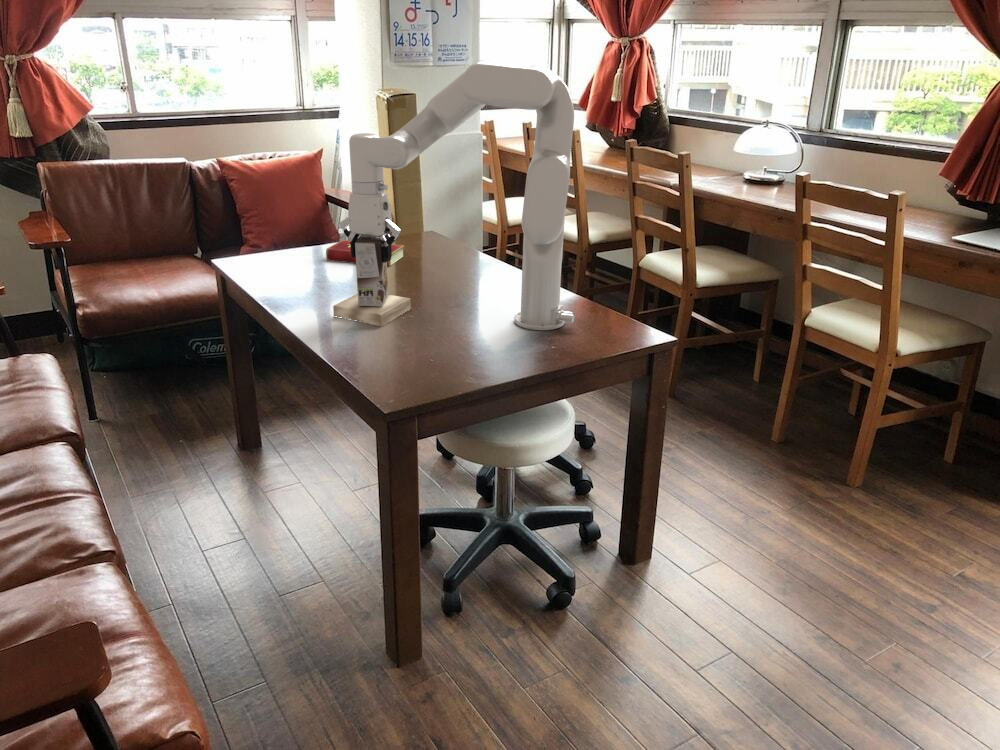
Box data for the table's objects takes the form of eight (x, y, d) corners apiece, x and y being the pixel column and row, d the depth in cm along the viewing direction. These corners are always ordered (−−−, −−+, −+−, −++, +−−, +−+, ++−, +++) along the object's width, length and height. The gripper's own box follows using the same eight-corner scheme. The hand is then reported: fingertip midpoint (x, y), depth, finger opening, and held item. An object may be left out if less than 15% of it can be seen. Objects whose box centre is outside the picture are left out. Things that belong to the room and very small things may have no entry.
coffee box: (383, 306, 201) (380, 242, 194) (357, 306, 201) (353, 242, 194) (389, 295, 209) (386, 233, 203) (364, 294, 209) (360, 233, 203)
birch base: (410, 309, 210) (410, 298, 208) (381, 326, 198) (381, 314, 197) (365, 301, 215) (364, 290, 214) (333, 317, 203) (333, 305, 202)
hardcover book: (390, 268, 245) (389, 254, 243) (326, 261, 250) (325, 248, 248) (404, 257, 256) (404, 244, 254) (343, 251, 260) (342, 238, 259)
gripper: (407, 188, 193) (409, 259, 200) (346, 181, 200) (350, 250, 207) (390, 194, 187) (393, 267, 194) (328, 186, 194) (333, 258, 201)
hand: (371, 258), depth 201 cm, fingers closed on coffee box, 8 cm apart
